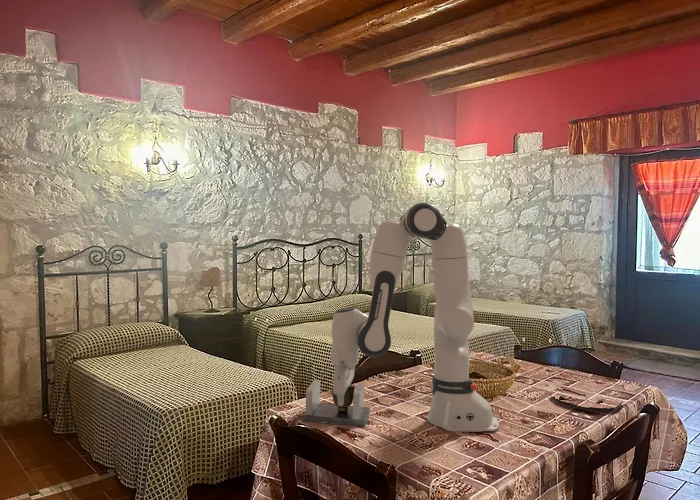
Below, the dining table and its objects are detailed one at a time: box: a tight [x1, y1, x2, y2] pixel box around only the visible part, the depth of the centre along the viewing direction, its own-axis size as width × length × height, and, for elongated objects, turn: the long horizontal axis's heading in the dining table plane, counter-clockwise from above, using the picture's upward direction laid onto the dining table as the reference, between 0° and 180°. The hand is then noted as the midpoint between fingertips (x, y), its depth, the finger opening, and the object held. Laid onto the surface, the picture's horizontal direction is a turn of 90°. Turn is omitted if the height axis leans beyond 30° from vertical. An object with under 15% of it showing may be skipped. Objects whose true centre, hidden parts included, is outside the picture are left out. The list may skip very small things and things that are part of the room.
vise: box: [301, 382, 371, 428], centre depth 177 cm, size 20×12×10 cm, turn 81°
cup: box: [331, 384, 356, 412], centre depth 177 cm, size 8×7×8 cm
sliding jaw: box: [305, 379, 321, 415], centre depth 178 cm, size 2×12×8 cm, turn 171°
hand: (343, 400), depth 176 cm, fingers open, 8 cm apart
